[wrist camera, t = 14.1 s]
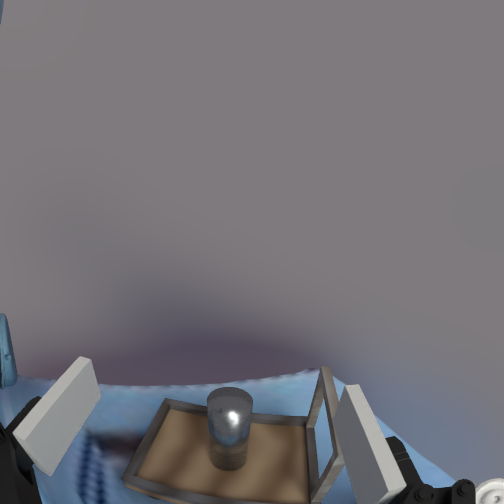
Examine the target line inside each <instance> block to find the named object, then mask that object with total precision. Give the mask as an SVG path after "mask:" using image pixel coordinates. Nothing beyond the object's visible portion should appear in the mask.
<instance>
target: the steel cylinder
mask: <svg viewBox="0 0 504 504" xmlns="http://www.w3.org/2000/svg"><path fill="white" fill-rule="evenodd" d="M252 407H253V400H252V397H251V396H250V395H249V394H248V393H247V392H246V391H244V390H242V389H239V388H235V387H223V388H219V389H216V390H214V391H212V392H211V393H210V394H209V396H208V398H207V413H208V434H209V451H210V460H211V463H212V464H213V465H214V466H215V467H216V468H218V469H220V470H223V471H235V470H238V469H240V468H242V467H243V466H244V465H245V463H246V461H247V452H248V444H249V435H250V425H251V416H252Z"/></svg>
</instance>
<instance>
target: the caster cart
mask: <svg viewBox="0 0 504 504" xmlns="http://www.w3.org/2000/svg"><path fill="white" fill-rule="evenodd" d="M323 398H324V400H325V406H326V411H327V417H328V423H329V429H330V435H331V441H332V447H333V454H332V456H331V458H330V460H329V462H328V464H327V466H326V468H325V470H324V472H323V474H322V476H321V478H320V480H319V472H318V461H317V450H316V440H315V431H314V427H315V424H316V421H317V418H318V415H319V411H320V408H321V405H322V402H323ZM338 404H339V401H338V397H337V393H336V389H335V385H334V381H333V377H332V374H331V369H330V367H328V366H321V369H320V373H319V377H318V381H317V385H316V388H315V392H314V396H313V400H312V403H311V407H310V410H309V414H308V417H307V416H283V415H269V414H258V413H252V416H251V425H250V435H249V444H248V452H247V461H246V463H245V465H244V466H243V467H242V468H240V469H238V470H235V471H223V470H220V469H218V468H216V467H215V466H214V465H213V464H212V463H211V460H210V451H209V434H208V413H207V407H206V406H201V405H195V404H190V403H186V402H181V401H176V400H172V399H168V398H165V399H164V401H163V403H162V405H161V406H160V408H159V410H158V412H157V414H156V415H155V417H154V419H153V421H152V423H151V425H150V426H149V428H148V430H147V432H146V434H145V435H144V437H143V439H142V441H141V443H140V445H139V446H138V448H137V450H136V452H135V454H134V456H133V457H132V459H131V461H130V463H129V465H128V467H127V468H126V470H125V472H124V474H123V476H122V478H121V479H122V481H123V483H124V484H125V486H126V487H127V488H129V489H132V490H135V491H138V492H140V493H143V494H146V495H148V496H149V497H151V498H154V499H162V500H166V501H169V502H173V503H177V504H321V501H322V500H323V498H324V497H325V495H326V494H327V492H328V491H329V489H330V488H331V486H332V484H333V483H334V481H335V480H336V478H337V477H338V475H339V473H340V472H341V470H342V468H343V466H344V465H345V461H344V458H343V455H342V452H341V448H340V445H339V442H338V438H337V435H336V432H335V429H334V426H333V422H332V420H333V418H334V415H335V412H336V410H337V407H338Z"/></svg>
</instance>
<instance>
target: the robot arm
mask: <svg viewBox="0 0 504 504" xmlns="http://www.w3.org/2000/svg"><path fill="white" fill-rule="evenodd" d="M3 3H4V0H0V23H1V17H2V11H3ZM16 382H17V369H16V364H15V359H14V353H13V347H12V342H11V337H10V331H9V326H8V321H7V318H6V316H5V314H0V389H3V388H4V387H9V386H13V385H15V384H16ZM100 398H101V394H100V390H99V387H98V384H97V380H96V377H95V373H94V369H93V366H92V362H91V359H88V358H84V357H81V356H80V357H79V358H78V359H77V360H76V361H75V362H74V363H73V364H72V365H71V366H70V367H69V369H68V370H67V371H66V372H65V373H64V374H63V375H62V376H61V377H60V378H59V379H58V380H57V382H56V383H55V384H54V385H53V386H52V387H51V388H50V389H49V390H48V392H47V393H46V394H45V395H44V396H43V397H42V398H41V397H39V396H37V397H35V398H33V399H32V400H30V401H29V402H28V403H27V404H26V406H25V408H23V409H22V410H21V412H19V414H18V415H17V416H16V417H15V418H14V419H13V420H12V422H11V423H10V424H9V425H8V426H7V427H6V429H4V427H3V426H2V424H1V422H0V504H42V501H41V498H40V494H39V490H38V486H37V482H36V478H35V474H34V470H33V468H32V465H33V463H34V464H35V465H36V466H37V468H38V469H39V470H41V471H42V472H44V473H46V474H48V475H49V476H52V474H53V473H54V471H55V469H56V468H57V466H58V464H59V463H60V461H61V459H62V458H63V456H64V454H65V453H66V451H67V449H68V448H69V446H70V445H71V443H72V441H73V440H74V438H75V437H76V435H77V433H78V432H79V430H80V429H81V427H82V426H83V424H84V423H85V421H86V419H87V418H88V416H89V415H90V413H91V412H92V410H93V409H94V407H95V406H96V404H97V403H98V401H99V400H100ZM332 422H333V426H334V429H335V432H336V435H337V438H338V442H339V445H340V448H341V452H342V455H343V458H344V461H345V465H346V468H347V472H348V475H349V478H350V482H351V485H352V489H353V492H354V496H355V499H356V503H357V504H476V489H475V485H474V484H473V483H472V482H471V481H470V480H467V479H462V480H459V481H457V482H456V483H455V484H454V485H453V486H452V487H444V488H433V487H432V486H430V485H428V484H424V483H423V482H422V480H421V479H420V477H419V475H418V473H417V471H416V469H415V467H414V465H413V463H412V461H411V459H410V457H409V455H408V453H407V452H406V449H405V447H404V445H403V443H402V442H401V441H400V440H399V439H398V438H396V437H395V436H393V437H388V438H385V437H384V435H383V433H382V431H381V429H380V427H379V425H378V423H377V421H376V419H375V416H374V414H373V412H372V410H371V408H370V406H369V404H368V402H367V400H366V398H365V396H364V394H363V392H362V390H361V388H360V386H359V385H345V387H344V390H343V393H342V396H341V399H340V401H339V404H338V407H337V410H336V412H335V415H334V418H333V420H332Z"/></svg>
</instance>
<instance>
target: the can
mask: <svg viewBox="0 0 504 504" xmlns="http://www.w3.org/2000/svg"><path fill="white" fill-rule="evenodd" d="M474 485H475V489H476V504H504V479H501V478H496V479H491V480H488V481H485V482H483V483H478V484H474Z"/></svg>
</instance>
